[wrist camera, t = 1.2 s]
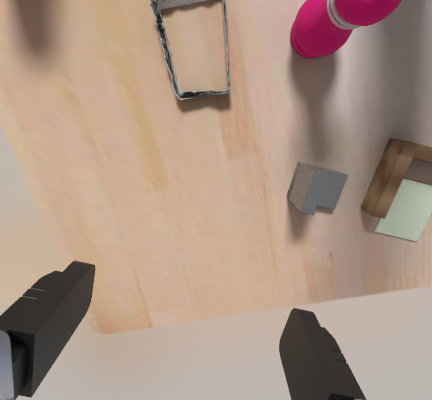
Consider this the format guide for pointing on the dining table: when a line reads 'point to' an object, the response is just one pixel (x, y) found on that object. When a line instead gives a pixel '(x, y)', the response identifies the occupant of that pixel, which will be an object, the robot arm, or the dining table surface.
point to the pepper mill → (334, 23)
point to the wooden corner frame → (392, 175)
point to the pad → (408, 211)
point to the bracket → (315, 187)
